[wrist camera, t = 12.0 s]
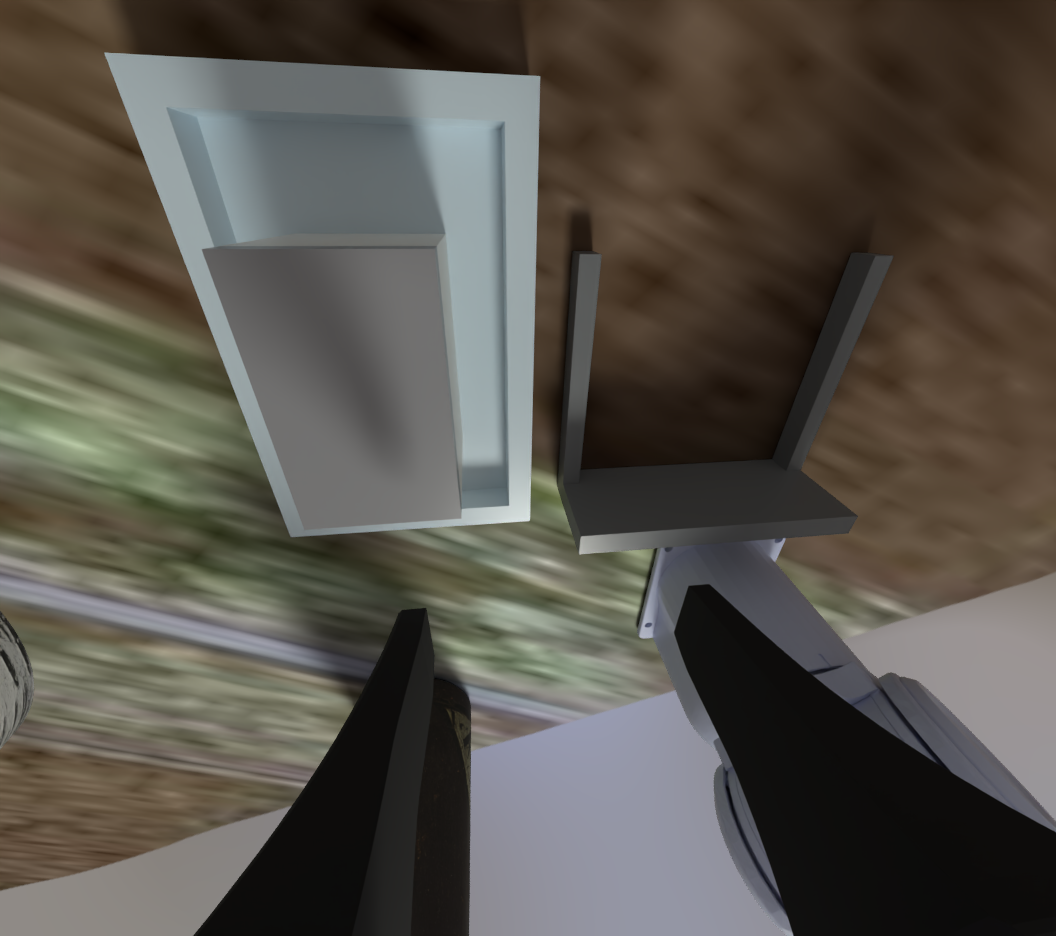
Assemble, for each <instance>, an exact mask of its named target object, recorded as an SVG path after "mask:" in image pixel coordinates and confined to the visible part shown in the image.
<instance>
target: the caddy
mask: <svg viewBox="0 0 1056 936" xmlns="http://www.w3.org/2000/svg"><path fill="white" fill-rule="evenodd" d="M202 252H203V255H204V258H205V260H206V263H207V266H208V269H209V271H210V274H211V277H212V279H213V282H214V285H215V288H216V290H217V293H218V296H219V299H220V301H221V304H222V307H223V309H224V312H225V315H226V318H227V320H228V323H229V326H230V329H231V331H232V334H233V337H234V339H235V342H236V345H237V348H238V350H239V353H240V356H241V359H242V361H243V364H244V367H245V369H246V372H247V375H248V378H249V380H250V383H251V386H252V389H253V391H254V394H255V397H256V399H257V402H258V405H259V408H260V410H261V413H262V416H263V419H264V421H265V424H266V427H267V429H268V432H269V435H270V438H271V440H272V443H273V446H274V449H275V451H276V454H277V457H278V459H279V462H280V465H281V468H282V470H283V473H284V476H285V479H286V481H287V484H288V487H289V489H290V492H291V495H292V498H293V500H294V503H295V506H296V509H297V511H298V514H299V517H300V519H301V522H302V525H303V528H304V530H309V529H323V528H337V527H351V526H365V525H379V524H393V523H407V522H421V521H435V520H449V519H461V515H462V457H463V431H462V419H461V407H460V395H459V384H458V372H457V360H456V348H455V337H454V325H453V313H452V301H451V290H450V278H449V266H448V254H447V243H446V234H370V233H295V234H289V235H283V236H277V237H271V238H265V239H259V240H253V241H247V242H241V243H235V244H229V245H223V246H218V247H212V248H206V249H202Z"/></svg>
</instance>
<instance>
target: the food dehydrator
mask: <svg viewBox="0 0 1056 936" xmlns="http://www.w3.org/2000/svg"><path fill="white" fill-rule="evenodd" d="M33 695H34V678H33V671H32V667H31V663H30V660H29V658H28V655H27V653H26V650H25V648H24V646H23V644H22V642H21V640H20V639H19V637H18V635H17V634H16V632H15V631H14V629H13V627H12V626H11V625H10V623H9V622H8V621H7V619H6V618H5V616H4V615H3V614H2V613H1V611H0V749H1V747H2V746H3V745H4V744H5V743H6V742H7V740H8V739H9V738H10V737H11V736H12V735H13V733H14V732H15V731H16V730H17V729H18V728H19V726H20V725H21V724H22V722H23V721H24V719H25V718H26V716H27V714H28V712H29V710H30V707H31V704H32V700H33Z"/></svg>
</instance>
